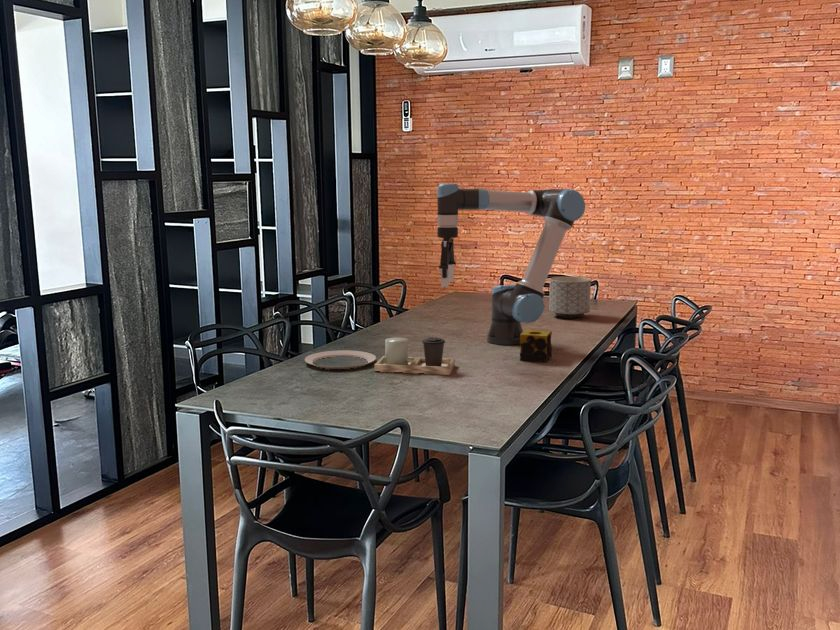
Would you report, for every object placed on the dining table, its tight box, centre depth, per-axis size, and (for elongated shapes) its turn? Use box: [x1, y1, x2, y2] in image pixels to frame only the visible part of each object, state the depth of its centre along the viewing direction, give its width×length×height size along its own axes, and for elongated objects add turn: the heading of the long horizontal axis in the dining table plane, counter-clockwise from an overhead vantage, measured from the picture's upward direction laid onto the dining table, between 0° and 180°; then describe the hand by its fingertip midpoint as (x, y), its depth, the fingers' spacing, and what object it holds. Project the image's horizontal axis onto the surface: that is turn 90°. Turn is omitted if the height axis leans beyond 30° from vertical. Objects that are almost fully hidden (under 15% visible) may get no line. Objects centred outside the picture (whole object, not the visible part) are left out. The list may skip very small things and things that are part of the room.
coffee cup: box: [421, 337, 446, 367], centre depth 269 cm, size 8×8×10 cm
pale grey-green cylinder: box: [384, 337, 409, 365], centre depth 271 cm, size 8×8×9 cm
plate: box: [304, 349, 377, 370], centre depth 280 cm, size 26×26×2 cm
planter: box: [548, 276, 592, 319], centre depth 369 cm, size 19×19×18 cm
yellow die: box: [519, 329, 553, 363], centre depth 284 cm, size 10×10×10 cm
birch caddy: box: [373, 355, 456, 376], centre depth 271 cm, size 26×13×2 cm, turn 80°
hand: (447, 284), depth 287 cm, fingers open, 13 cm apart
